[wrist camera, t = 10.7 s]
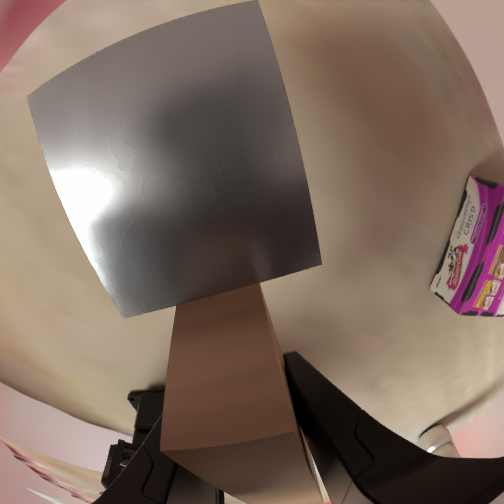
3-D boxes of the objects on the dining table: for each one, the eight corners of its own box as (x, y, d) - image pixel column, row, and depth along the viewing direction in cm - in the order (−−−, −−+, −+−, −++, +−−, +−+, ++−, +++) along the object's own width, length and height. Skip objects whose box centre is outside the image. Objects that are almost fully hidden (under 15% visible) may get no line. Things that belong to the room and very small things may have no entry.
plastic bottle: (409, 446, 38) (446, 524, 19) (419, 429, 35) (464, 514, 16) (436, 433, 38) (475, 505, 19) (447, 415, 35) (494, 492, 17)
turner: (335, 412, 13) (361, 491, 9) (226, 438, 13) (234, 518, 9) (254, 8, 5) (316, -120, 1) (38, 96, 5) (-109, 121, 1)
